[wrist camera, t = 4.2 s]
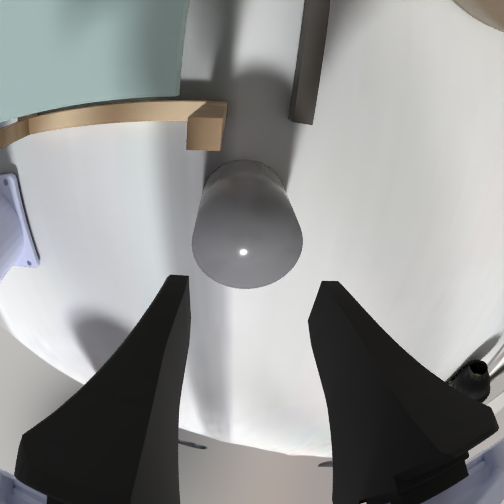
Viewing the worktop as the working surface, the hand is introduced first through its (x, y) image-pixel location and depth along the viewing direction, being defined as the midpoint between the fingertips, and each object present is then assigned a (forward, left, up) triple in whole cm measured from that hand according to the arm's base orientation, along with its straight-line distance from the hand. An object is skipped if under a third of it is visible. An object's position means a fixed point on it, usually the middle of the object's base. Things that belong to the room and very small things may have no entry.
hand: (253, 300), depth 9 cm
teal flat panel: (-9, +11, -3) cm, 15 cm away
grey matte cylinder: (0, 0, -8) cm, 8 cm away
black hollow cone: (+43, -32, -8) cm, 54 cm away
